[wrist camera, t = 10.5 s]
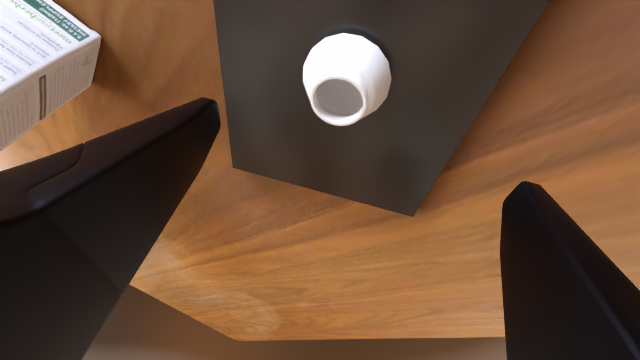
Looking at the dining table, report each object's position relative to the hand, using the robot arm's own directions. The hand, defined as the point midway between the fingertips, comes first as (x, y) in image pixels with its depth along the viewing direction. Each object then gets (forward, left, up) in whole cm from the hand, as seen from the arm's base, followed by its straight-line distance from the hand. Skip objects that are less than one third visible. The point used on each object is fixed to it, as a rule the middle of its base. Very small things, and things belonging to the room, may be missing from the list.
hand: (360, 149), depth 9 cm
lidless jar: (+2, +3, -10) cm, 11 cm away
